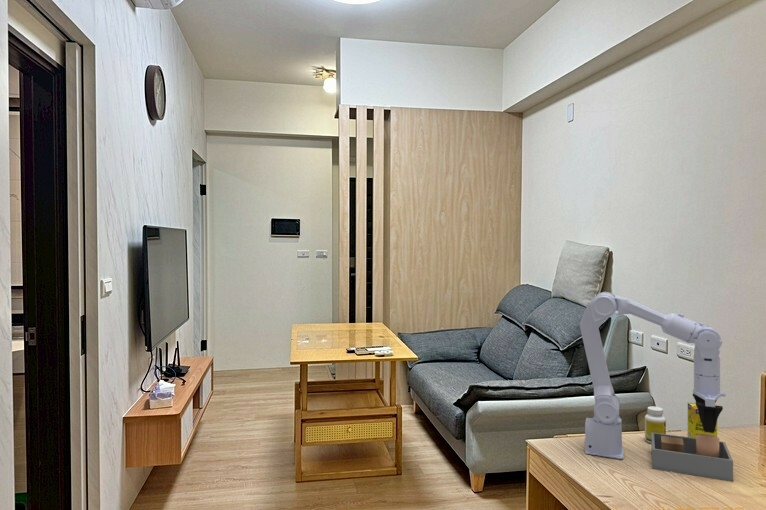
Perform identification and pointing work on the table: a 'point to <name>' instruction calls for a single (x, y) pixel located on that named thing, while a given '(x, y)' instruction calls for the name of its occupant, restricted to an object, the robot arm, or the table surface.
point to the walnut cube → (672, 444)
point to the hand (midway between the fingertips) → (707, 427)
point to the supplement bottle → (654, 422)
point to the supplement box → (696, 422)
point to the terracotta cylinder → (707, 445)
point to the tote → (692, 459)
